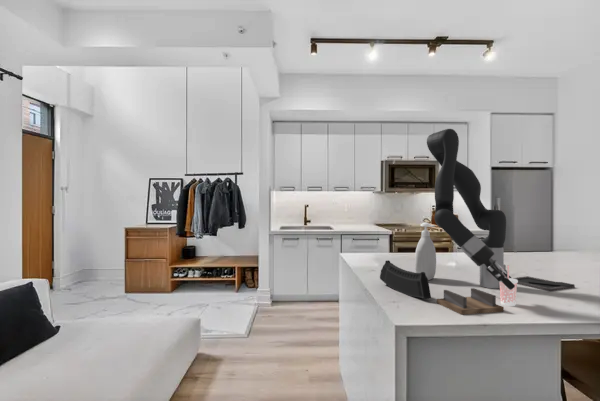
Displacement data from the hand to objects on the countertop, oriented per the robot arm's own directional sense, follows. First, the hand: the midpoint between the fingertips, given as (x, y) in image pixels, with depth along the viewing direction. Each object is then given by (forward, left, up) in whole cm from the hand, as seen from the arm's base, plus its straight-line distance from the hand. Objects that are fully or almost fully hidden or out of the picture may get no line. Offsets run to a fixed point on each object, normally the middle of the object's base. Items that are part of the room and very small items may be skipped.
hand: (513, 286), depth 131 cm
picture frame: (-36, -25, -8) cm, 44 cm away
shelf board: (+17, -1, -7) cm, 19 cm away
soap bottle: (+7, -44, -7) cm, 45 cm away
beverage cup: (+1, -1, -7) cm, 7 cm away
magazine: (+29, -26, -7) cm, 40 cm away
